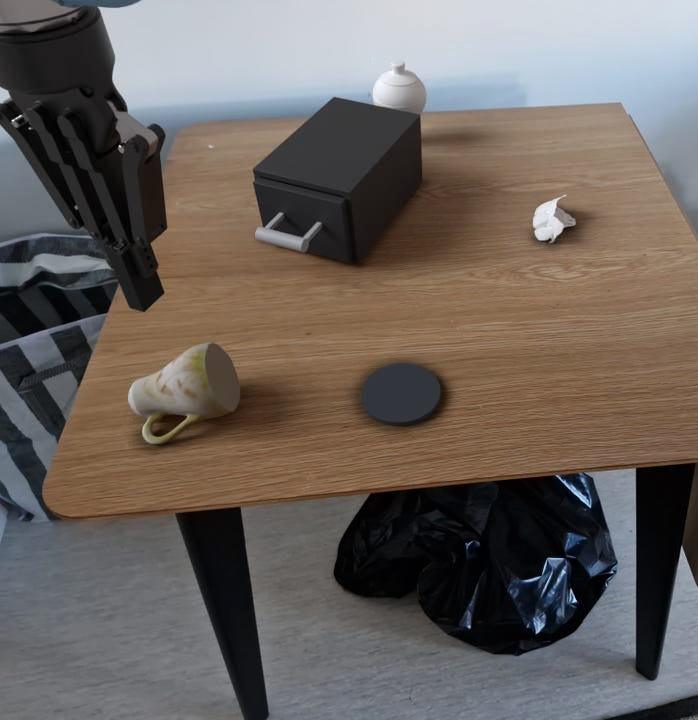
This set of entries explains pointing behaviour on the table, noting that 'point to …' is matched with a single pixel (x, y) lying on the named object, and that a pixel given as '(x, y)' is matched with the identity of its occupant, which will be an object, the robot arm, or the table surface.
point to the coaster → (401, 394)
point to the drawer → (303, 219)
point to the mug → (187, 390)
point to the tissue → (551, 220)
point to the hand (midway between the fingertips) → (147, 300)
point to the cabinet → (354, 163)
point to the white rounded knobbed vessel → (400, 90)
